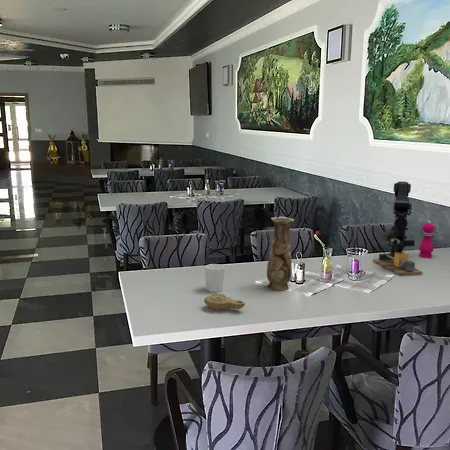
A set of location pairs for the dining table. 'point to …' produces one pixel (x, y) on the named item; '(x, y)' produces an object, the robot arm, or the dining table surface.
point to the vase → (280, 255)
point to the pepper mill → (427, 241)
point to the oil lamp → (223, 302)
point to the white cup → (214, 277)
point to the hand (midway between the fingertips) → (397, 256)
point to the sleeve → (400, 258)
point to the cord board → (403, 270)
